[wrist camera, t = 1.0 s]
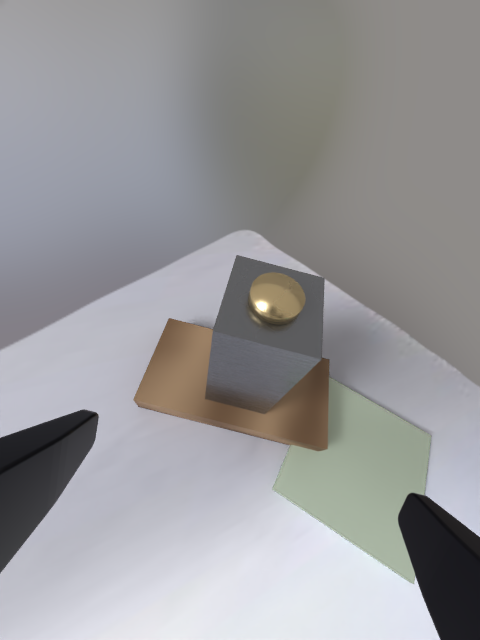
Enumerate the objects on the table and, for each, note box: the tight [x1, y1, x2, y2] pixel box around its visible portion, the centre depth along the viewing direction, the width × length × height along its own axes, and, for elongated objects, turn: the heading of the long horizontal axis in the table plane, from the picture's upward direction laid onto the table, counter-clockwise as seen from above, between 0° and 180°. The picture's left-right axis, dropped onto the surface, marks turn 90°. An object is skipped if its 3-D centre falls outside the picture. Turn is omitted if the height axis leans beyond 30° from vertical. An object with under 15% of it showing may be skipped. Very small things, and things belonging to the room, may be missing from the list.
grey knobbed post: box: [205, 255, 324, 414], centre depth 16 cm, size 4×4×11 cm
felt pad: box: [272, 377, 431, 584], centre depth 20 cm, size 10×10×1 cm
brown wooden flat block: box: [133, 318, 329, 451], centre depth 21 cm, size 14×7×2 cm, turn 78°
